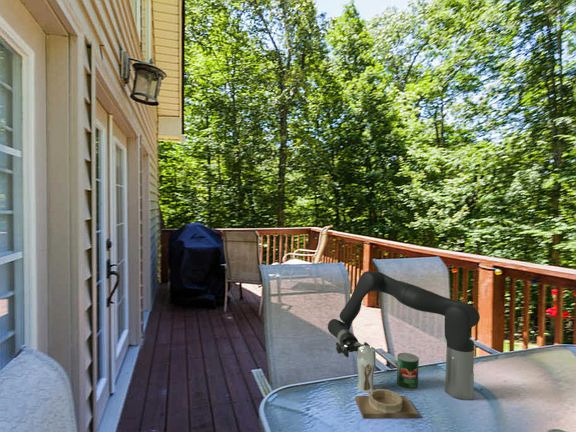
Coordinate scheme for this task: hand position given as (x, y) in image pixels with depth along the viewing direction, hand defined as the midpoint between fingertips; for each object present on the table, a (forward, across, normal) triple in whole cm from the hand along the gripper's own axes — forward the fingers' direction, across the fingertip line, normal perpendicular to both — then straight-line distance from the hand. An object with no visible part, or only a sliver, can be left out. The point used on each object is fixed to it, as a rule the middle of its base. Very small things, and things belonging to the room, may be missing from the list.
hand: (358, 354), depth 145 cm
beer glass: (+10, 0, +9) cm, 13 cm away
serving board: (+24, +2, +8) cm, 26 cm away
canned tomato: (+9, +17, +9) cm, 21 cm away
